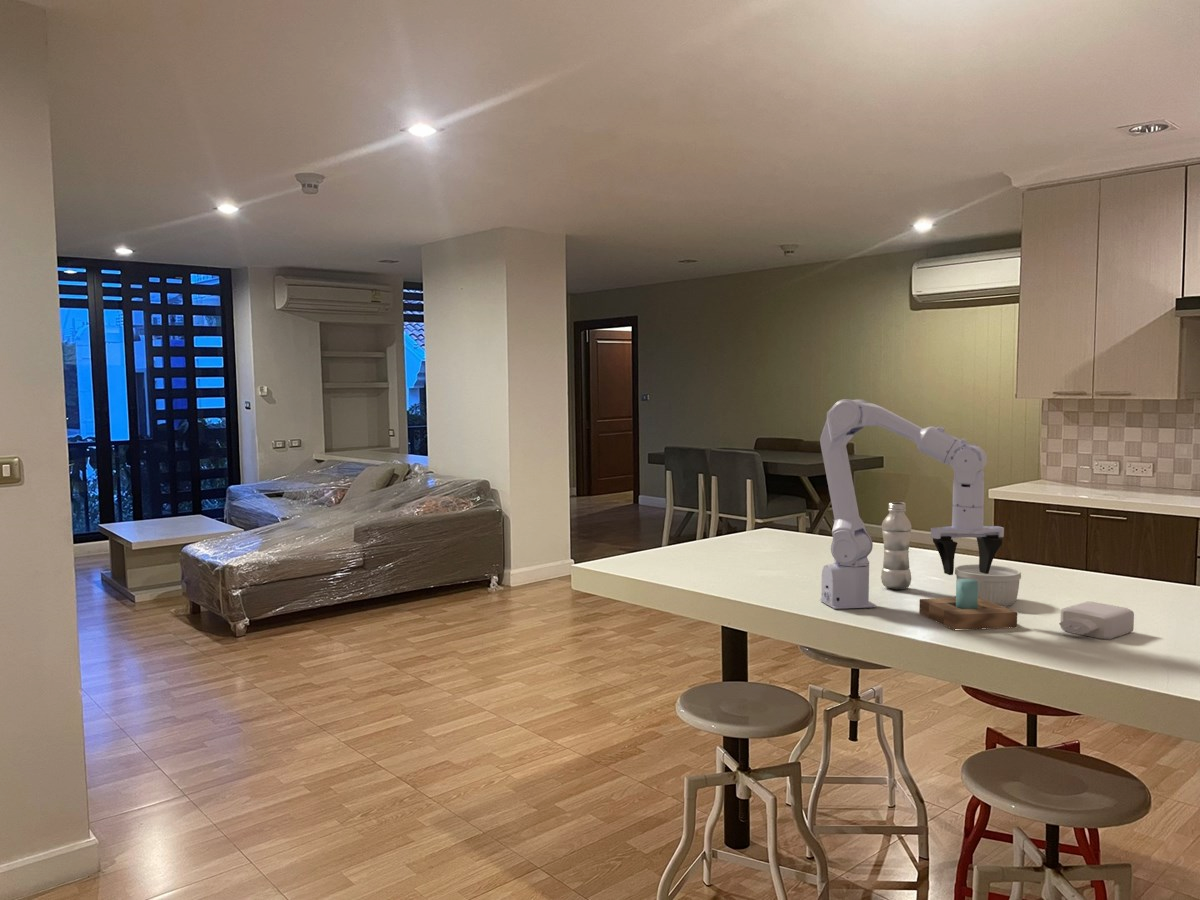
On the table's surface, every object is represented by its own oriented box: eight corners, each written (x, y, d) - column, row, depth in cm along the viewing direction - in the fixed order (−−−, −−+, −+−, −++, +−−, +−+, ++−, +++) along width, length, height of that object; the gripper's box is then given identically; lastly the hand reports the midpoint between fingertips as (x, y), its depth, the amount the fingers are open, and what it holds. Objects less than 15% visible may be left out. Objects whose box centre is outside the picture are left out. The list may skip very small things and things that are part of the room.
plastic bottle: (913, 592, 195) (914, 505, 194) (882, 591, 196) (883, 504, 195) (908, 586, 201) (910, 502, 200) (878, 585, 202) (880, 501, 201)
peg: (962, 623, 168) (963, 583, 167) (951, 618, 172) (952, 579, 171) (981, 622, 168) (982, 582, 168) (969, 617, 172) (970, 578, 172)
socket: (954, 630, 163) (954, 614, 162) (919, 613, 175) (919, 599, 175) (1016, 627, 164) (1017, 612, 164) (977, 611, 177) (978, 596, 177)
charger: (1043, 635, 159) (1082, 623, 168) (1095, 647, 152) (1133, 634, 161) (1044, 610, 159) (1083, 600, 168) (1095, 621, 152) (1134, 609, 160)
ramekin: (942, 600, 188) (943, 568, 187) (971, 591, 196) (972, 561, 196) (1003, 611, 177) (1004, 578, 177) (1031, 601, 186) (1032, 570, 186)
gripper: (944, 508, 164) (943, 578, 165) (1014, 507, 166) (1012, 576, 167) (925, 504, 171) (924, 571, 172) (992, 503, 173) (990, 569, 174)
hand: (966, 573), depth 170 cm, fingers open, 7 cm apart
